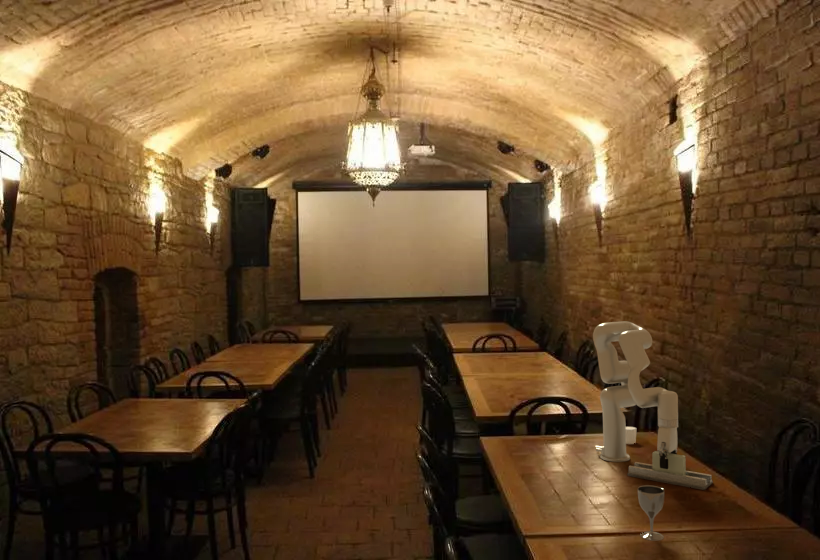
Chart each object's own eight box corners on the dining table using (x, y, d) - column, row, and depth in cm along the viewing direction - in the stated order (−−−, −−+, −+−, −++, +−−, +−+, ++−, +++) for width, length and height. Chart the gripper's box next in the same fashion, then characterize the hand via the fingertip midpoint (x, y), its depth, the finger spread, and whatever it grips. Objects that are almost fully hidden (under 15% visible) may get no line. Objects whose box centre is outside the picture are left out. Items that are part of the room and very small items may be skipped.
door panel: (652, 474, 274) (652, 452, 273) (655, 473, 276) (655, 451, 276) (683, 480, 266) (682, 457, 266) (685, 478, 268) (685, 455, 268)
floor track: (627, 475, 277) (627, 467, 277) (637, 469, 284) (637, 461, 284) (704, 490, 257) (704, 480, 257) (712, 483, 265) (712, 474, 265)
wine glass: (634, 532, 221) (633, 486, 220) (658, 530, 221) (657, 484, 221) (645, 542, 213) (644, 494, 212) (669, 540, 213) (668, 492, 213)
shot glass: (635, 440, 329) (634, 426, 328) (638, 444, 322) (638, 429, 322) (620, 440, 329) (620, 426, 329) (623, 444, 322) (623, 429, 322)
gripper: (666, 416, 279) (666, 458, 280) (650, 425, 266) (650, 469, 267) (685, 419, 274) (685, 461, 275) (669, 428, 261) (670, 472, 262)
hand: (668, 465), depth 271 cm, fingers open, 9 cm apart
